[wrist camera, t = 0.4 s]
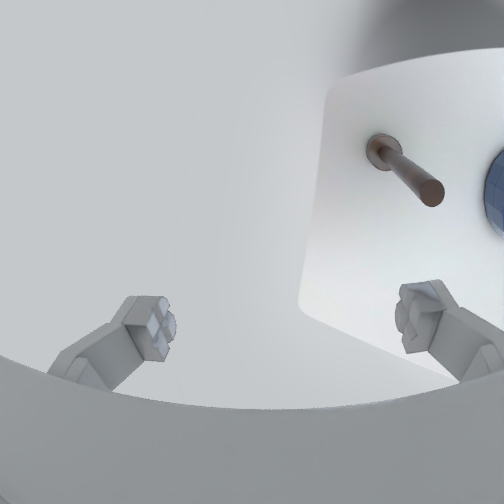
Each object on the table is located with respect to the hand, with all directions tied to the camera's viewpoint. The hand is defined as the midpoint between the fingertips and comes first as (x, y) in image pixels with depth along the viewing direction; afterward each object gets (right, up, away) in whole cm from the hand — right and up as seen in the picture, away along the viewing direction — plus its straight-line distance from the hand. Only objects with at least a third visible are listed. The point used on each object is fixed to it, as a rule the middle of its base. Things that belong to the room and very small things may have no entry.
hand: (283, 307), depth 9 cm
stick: (+15, +14, +22) cm, 30 cm away
